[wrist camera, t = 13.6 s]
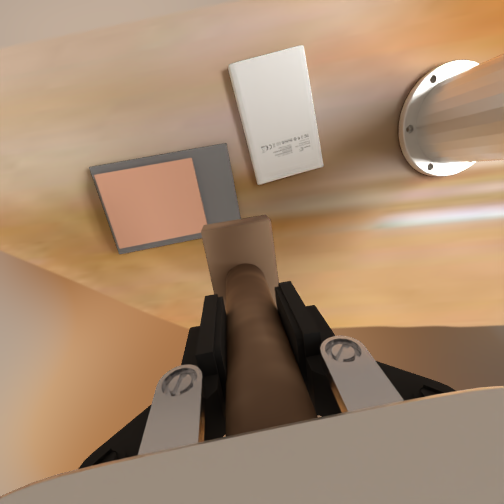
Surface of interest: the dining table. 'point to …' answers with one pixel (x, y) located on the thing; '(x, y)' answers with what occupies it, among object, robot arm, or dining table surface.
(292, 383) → the tool
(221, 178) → the mat
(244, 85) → the external hard drive
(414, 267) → the dining table surface
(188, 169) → the tile
